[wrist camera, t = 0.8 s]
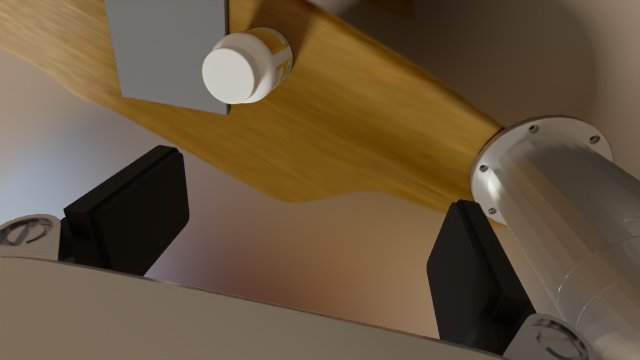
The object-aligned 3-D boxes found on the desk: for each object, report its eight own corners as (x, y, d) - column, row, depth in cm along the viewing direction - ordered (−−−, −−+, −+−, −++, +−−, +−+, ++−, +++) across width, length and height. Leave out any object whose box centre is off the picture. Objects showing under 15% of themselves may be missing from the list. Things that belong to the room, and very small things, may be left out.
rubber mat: (226, -28, 28) (223, -28, 28) (228, 113, 35) (226, 114, 34) (100, -47, 29) (95, -47, 28) (125, 94, 35) (122, 96, 35)
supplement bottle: (232, 33, 31) (179, 46, 22) (285, 20, 29) (249, 28, 21) (250, 89, 33) (208, 119, 25) (299, 79, 32) (272, 106, 23)
